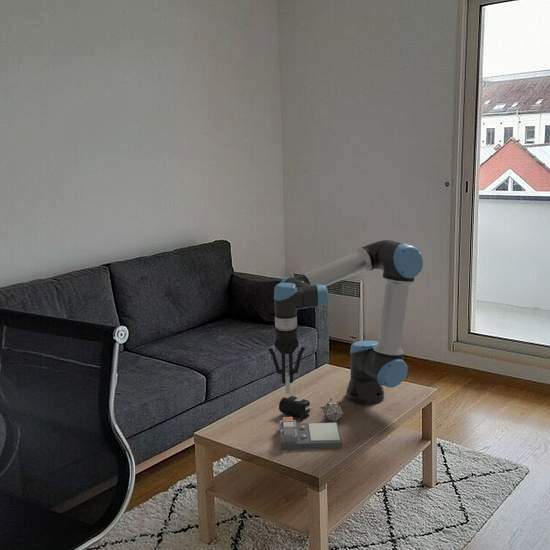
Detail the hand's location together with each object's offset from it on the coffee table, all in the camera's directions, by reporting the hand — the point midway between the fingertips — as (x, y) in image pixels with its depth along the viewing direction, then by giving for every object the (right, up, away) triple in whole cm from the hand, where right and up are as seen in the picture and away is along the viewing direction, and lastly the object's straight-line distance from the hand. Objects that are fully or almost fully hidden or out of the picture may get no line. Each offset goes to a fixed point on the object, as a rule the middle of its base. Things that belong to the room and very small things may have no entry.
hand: (287, 391), depth 235 cm
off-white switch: (0, -14, -5) cm, 14 cm away
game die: (+17, -13, +13) cm, 25 cm away
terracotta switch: (0, -14, +3) cm, 14 cm away
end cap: (+3, -13, +18) cm, 22 cm away
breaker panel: (+8, -16, 0) cm, 18 cm away
